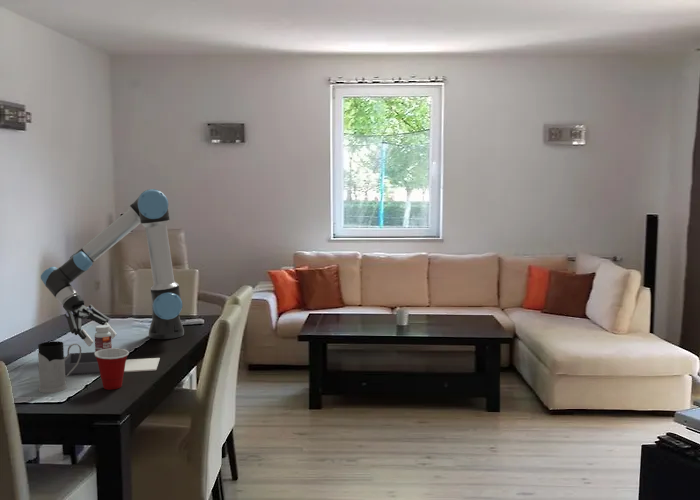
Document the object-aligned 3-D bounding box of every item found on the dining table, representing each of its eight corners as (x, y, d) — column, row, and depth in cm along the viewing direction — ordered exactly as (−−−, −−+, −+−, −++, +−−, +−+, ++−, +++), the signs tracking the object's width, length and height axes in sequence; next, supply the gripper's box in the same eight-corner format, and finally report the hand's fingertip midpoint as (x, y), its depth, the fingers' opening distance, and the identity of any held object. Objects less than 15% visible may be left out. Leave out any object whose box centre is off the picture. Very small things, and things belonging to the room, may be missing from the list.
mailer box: (159, 359, 262) (159, 348, 262) (156, 370, 246) (155, 359, 246) (70, 363, 256) (70, 353, 255) (61, 375, 240) (60, 364, 240)
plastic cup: (110, 394, 219) (108, 357, 218) (88, 388, 225) (87, 353, 223) (137, 385, 228) (136, 350, 227) (115, 380, 234) (114, 346, 233)
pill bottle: (105, 357, 266) (104, 328, 264) (91, 355, 267) (90, 327, 266) (115, 353, 271) (114, 325, 270) (102, 352, 273) (101, 324, 272)
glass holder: (34, 388, 225) (32, 344, 224) (77, 379, 235) (75, 337, 234) (44, 394, 219) (42, 348, 218) (87, 385, 229) (86, 341, 227)
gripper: (86, 301, 285) (118, 339, 281) (41, 312, 261) (75, 353, 258) (96, 289, 282) (128, 327, 279) (52, 299, 259) (86, 341, 256)
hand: (103, 340), depth 268 cm, fingers open, 13 cm apart
